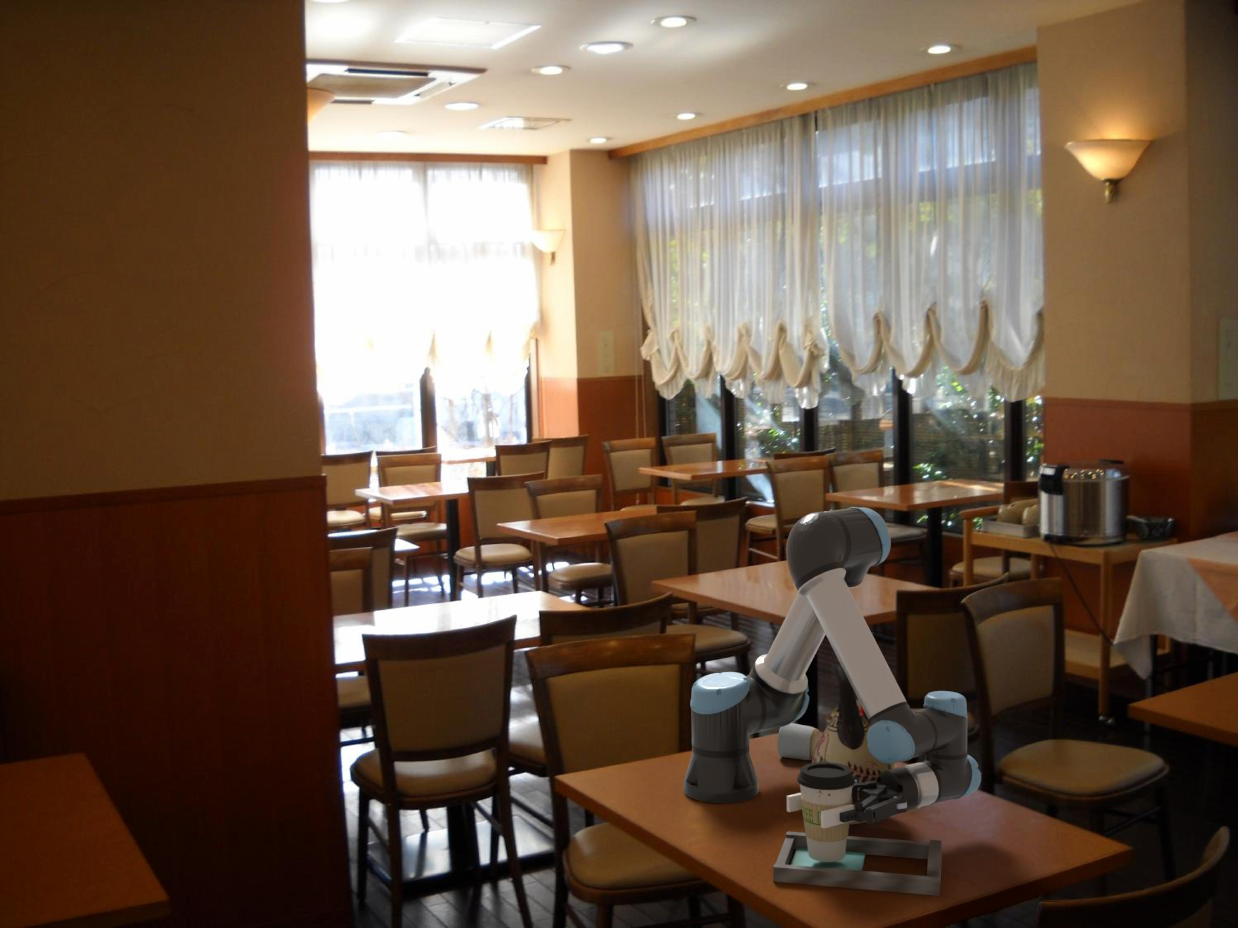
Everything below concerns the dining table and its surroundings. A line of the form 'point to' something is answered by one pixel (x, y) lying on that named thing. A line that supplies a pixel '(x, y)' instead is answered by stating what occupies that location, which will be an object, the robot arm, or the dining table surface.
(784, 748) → the ceramic mug
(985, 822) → the dining table surface
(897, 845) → the bay
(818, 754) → the ceramic jug
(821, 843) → the coffee cup
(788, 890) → the dining table surface
